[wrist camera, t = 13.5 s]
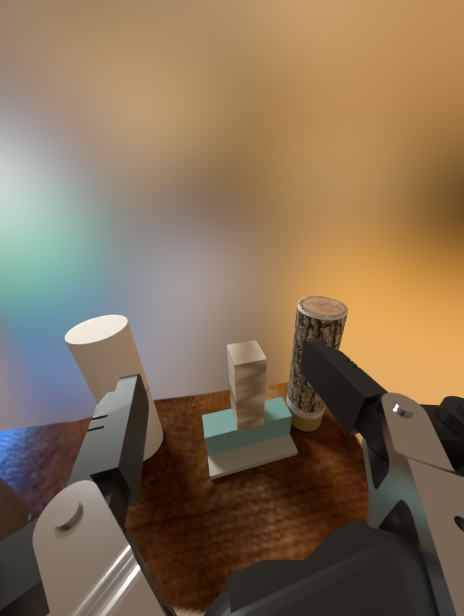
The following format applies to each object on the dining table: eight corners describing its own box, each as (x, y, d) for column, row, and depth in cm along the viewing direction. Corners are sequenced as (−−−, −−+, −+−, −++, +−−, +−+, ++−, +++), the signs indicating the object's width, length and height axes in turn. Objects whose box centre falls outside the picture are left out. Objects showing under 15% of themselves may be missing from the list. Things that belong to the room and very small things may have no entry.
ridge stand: (210, 479, 32) (206, 458, 29) (204, 421, 41) (200, 401, 38) (297, 454, 35) (301, 432, 32) (273, 404, 43) (275, 384, 41)
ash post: (237, 431, 32) (234, 365, 26) (231, 407, 36) (227, 345, 30) (263, 425, 33) (266, 359, 27) (255, 402, 37) (255, 340, 31)
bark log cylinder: (328, 428, 38) (360, 312, 27) (296, 438, 37) (315, 320, 26) (308, 399, 44) (326, 293, 33) (279, 406, 43) (289, 299, 32)
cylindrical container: (169, 425, 40) (138, 315, 29) (151, 465, 34) (102, 346, 23) (137, 420, 41) (94, 313, 30) (113, 459, 35) (49, 342, 24)
